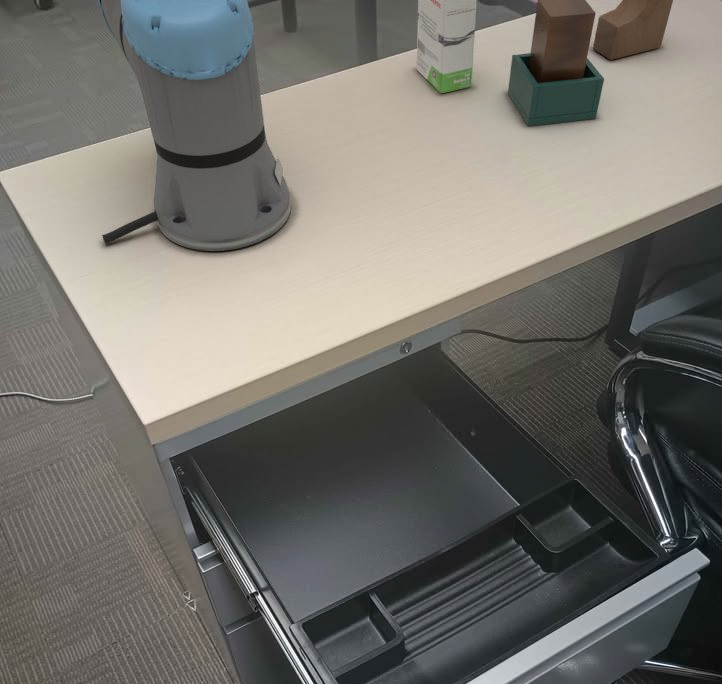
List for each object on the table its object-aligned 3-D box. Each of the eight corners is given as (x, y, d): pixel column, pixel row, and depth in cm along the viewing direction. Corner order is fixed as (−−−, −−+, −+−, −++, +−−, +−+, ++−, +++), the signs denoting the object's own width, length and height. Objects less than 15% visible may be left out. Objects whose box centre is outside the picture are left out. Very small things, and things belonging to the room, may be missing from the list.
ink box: (472, 88, 105) (480, -9, 95) (439, 95, 104) (444, -2, 94) (446, 62, 110) (451, -32, 100) (414, 69, 109) (416, -26, 99)
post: (536, 110, 98) (550, 16, 90) (525, 90, 102) (537, -2, 93) (577, 106, 98) (596, 12, 90) (565, 86, 102) (581, -6, 93)
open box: (527, 126, 98) (533, 86, 94) (507, 93, 103) (512, 54, 99) (595, 118, 98) (604, 78, 94) (572, 86, 104) (579, 47, 100)
